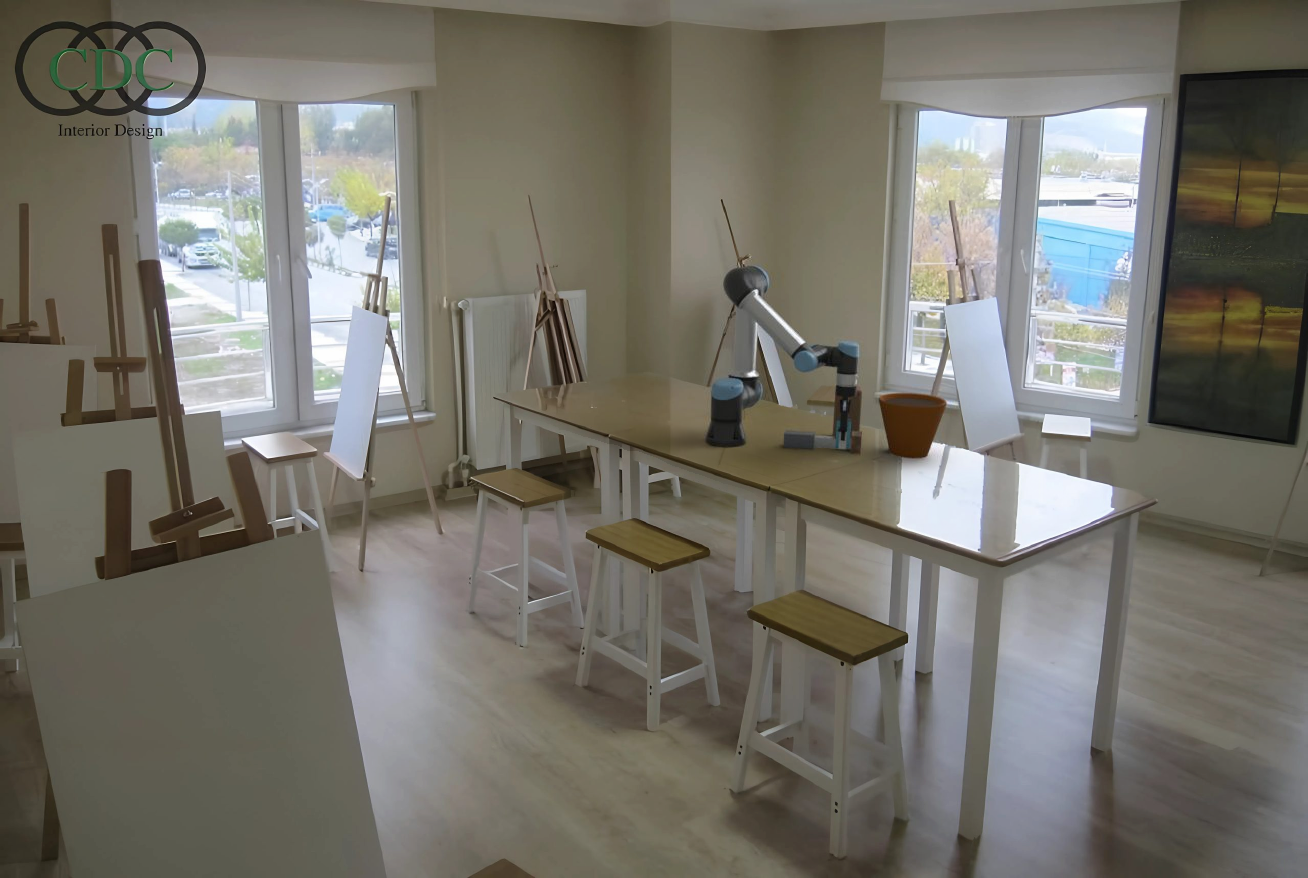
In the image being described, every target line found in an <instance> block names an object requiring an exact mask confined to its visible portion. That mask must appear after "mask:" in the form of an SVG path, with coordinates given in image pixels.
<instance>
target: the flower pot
mask: <svg viewBox="0 0 1308 878" xmlns="http://www.w3.org/2000/svg"><path fill="white" fill-rule="evenodd" d="M878 403H879V407H880V412H881V417H882V422H883V423H882V424H883V426H884V431H885V436H886V437H885V438H886V440H887V441H886V442H887V446H888V451H889V454H891V455H893V456H896V457H900V458H906V459H923V458H927V457H928V456H929V452H930V450H931V447H932V445H933V442H934V439H935V437H936V434H937V432H938V428H939V426H940V423H941V420H942V417H943V416H944V412H945V410H946V406H947V401H946V400H945V399H944V398H942V397H940V396H935V395H930V394H925V393H916V392H915V393H913V392H894V393H887V394H886V393H885V394H882V395H880V396H879V398H878Z"/></svg>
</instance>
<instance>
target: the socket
mask: <svg viewBox="0 0 1308 878" xmlns="http://www.w3.org/2000/svg"><path fill="white" fill-rule="evenodd" d="M862 436H863V431H861V430H860V431H852V440H851V449H850V454H853V455H854V454H855V455H861V451H862V438H863V437H862Z"/></svg>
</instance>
